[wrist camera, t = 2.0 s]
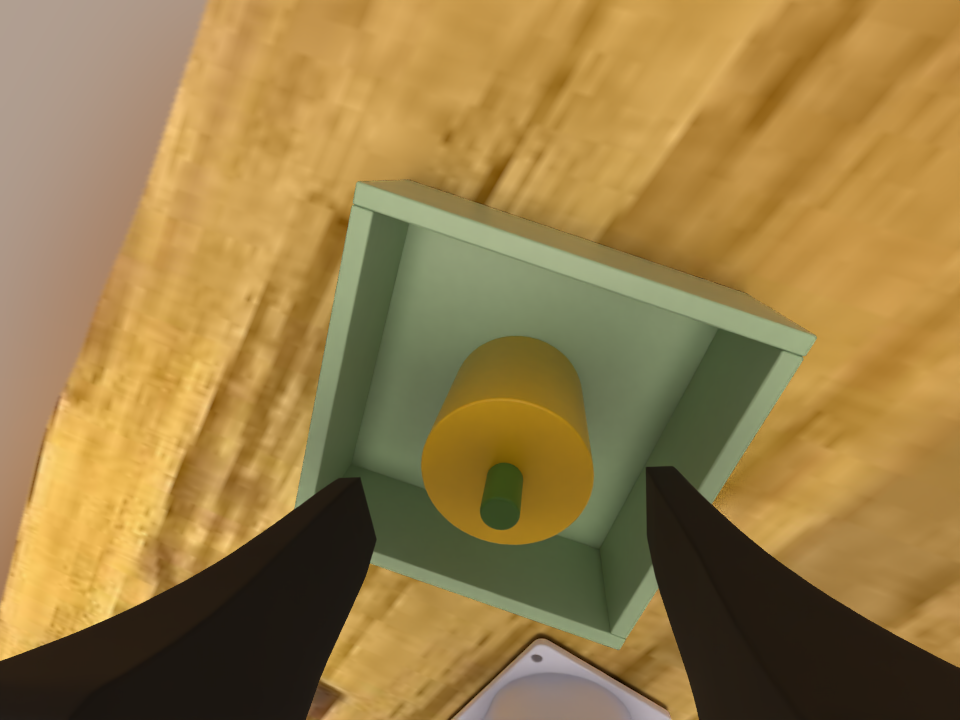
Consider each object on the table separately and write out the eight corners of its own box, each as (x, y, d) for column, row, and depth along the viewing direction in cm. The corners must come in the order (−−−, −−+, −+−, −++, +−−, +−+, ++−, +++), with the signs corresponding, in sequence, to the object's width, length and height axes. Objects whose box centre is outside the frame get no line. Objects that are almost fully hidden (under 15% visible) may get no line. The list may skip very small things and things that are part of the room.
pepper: (533, 471, 19) (525, 618, 13) (432, 408, 19) (372, 527, 12) (609, 382, 17) (643, 502, 11) (498, 309, 17) (467, 390, 11)
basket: (605, 553, 21) (619, 651, 16) (341, 462, 21) (288, 535, 17) (747, 293, 16) (819, 337, 12) (406, 178, 16) (355, 180, 12)
